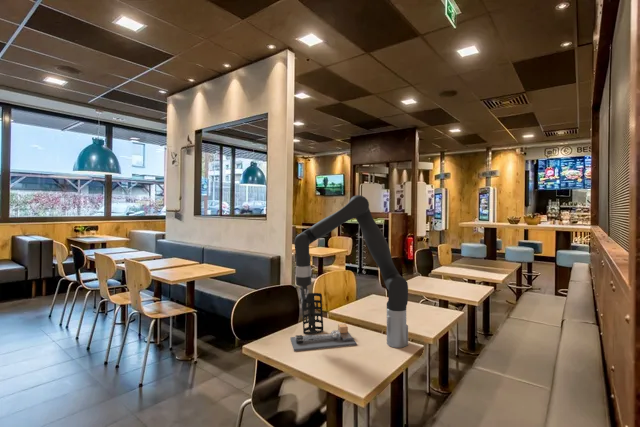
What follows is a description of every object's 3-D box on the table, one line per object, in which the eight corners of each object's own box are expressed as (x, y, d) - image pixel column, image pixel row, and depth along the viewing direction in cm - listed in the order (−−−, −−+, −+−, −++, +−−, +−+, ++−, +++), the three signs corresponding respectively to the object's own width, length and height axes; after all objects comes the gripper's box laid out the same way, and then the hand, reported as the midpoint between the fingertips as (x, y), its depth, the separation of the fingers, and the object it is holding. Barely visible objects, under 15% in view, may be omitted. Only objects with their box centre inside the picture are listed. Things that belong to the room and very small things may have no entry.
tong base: (346, 332, 175) (346, 325, 175) (352, 340, 165) (352, 333, 165) (294, 336, 170) (294, 330, 170) (297, 346, 159) (297, 338, 159)
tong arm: (332, 335, 168) (333, 333, 168) (334, 337, 165) (334, 335, 165) (294, 337, 164) (294, 335, 164) (295, 340, 161) (295, 337, 161)
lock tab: (345, 329, 175) (345, 323, 175) (347, 332, 171) (347, 326, 171) (338, 330, 174) (338, 324, 174) (340, 333, 170) (340, 327, 170)
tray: (348, 333, 176) (348, 332, 176) (356, 345, 162) (356, 343, 162) (290, 339, 170) (290, 337, 170) (294, 351, 156) (294, 349, 156)
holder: (305, 335, 173) (304, 296, 174) (300, 331, 180) (299, 293, 181) (325, 332, 177) (323, 293, 179) (319, 329, 184) (318, 291, 186)
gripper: (313, 277, 157) (314, 314, 158) (308, 271, 170) (309, 305, 171) (297, 278, 155) (298, 315, 156) (293, 272, 168) (294, 307, 169)
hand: (304, 310), depth 163 cm, fingers closed
